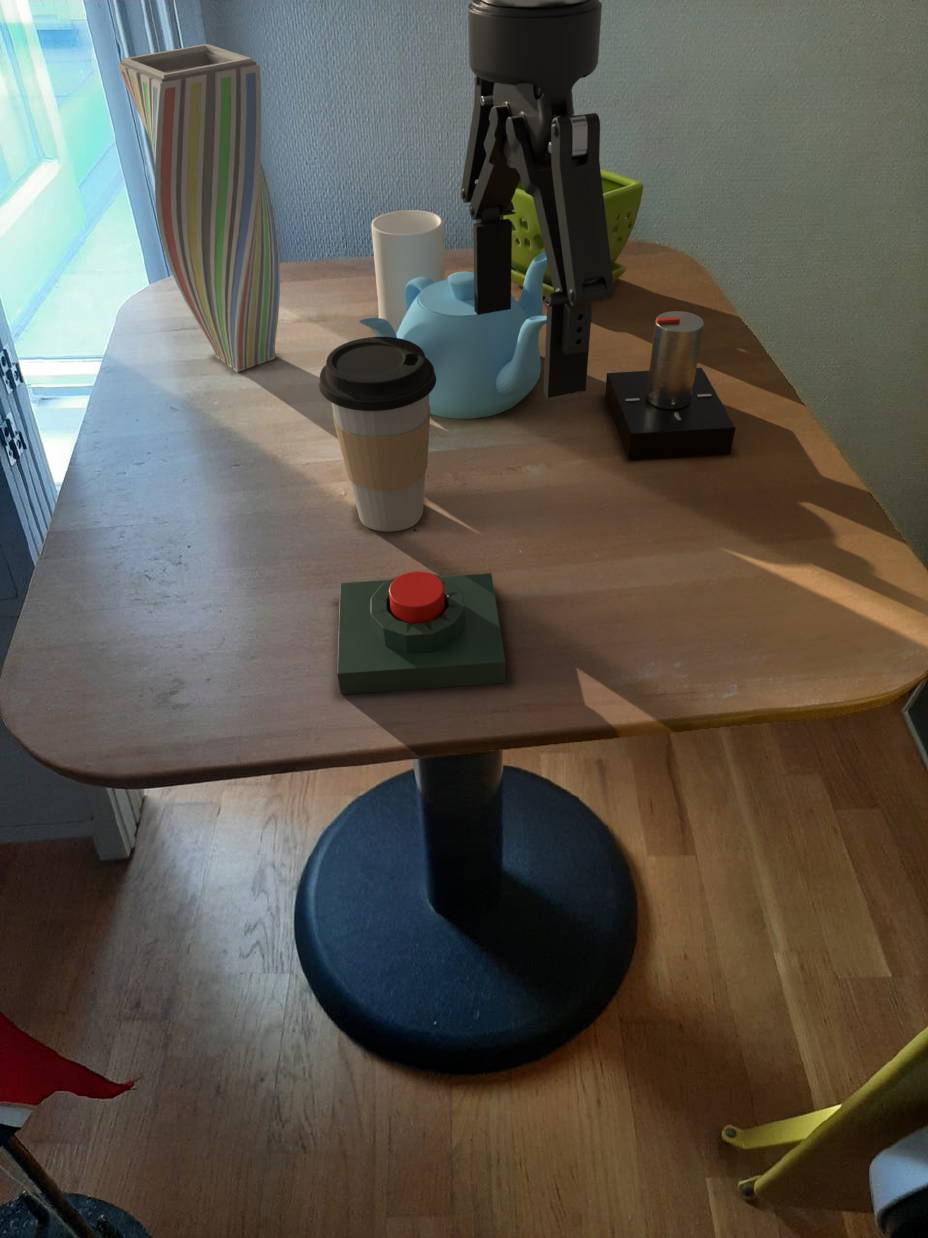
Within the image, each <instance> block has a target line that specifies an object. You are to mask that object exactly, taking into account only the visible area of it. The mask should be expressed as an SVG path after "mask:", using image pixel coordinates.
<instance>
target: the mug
mask: <svg viewBox="0 0 928 1238" xmlns="http://www.w3.org/2000/svg"><path fill="white" fill-rule="evenodd" d="M371 236H372V248H373V249H372V250H373V260H374V271H375V282H376V293H377V294H376V295H377V305H378V318H382V319H385V320H386V321H388V322H389V323H390V324H391V326H392V327H393V329H394V331H395V333H396V334H397V332H398V329H399V327H400V325H401V323H402V321H403V319H404V317H405V315H406V313H407V308H406V302H405V288H406V285H407V284H408V282H409V281H411V280H412V279H415V278H417V277H427V278H429V279H431V280H432V281H433V282H434V283H436V282H439V281H442V280H446V269H445V268H446V267H445V244H444V243H445V241H444V221H443V218H442V217H441V216H440V215H439V214H436V213H434V212H430V211H428V210H427V211H426V210H419V209H403V210H395V211H390V212H387V213H383V214H381V215H378V216H376V217H375V218H374V219H373V220H372V221H371Z"/></svg>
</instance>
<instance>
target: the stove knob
mask: <svg viewBox="0 0 928 1238" xmlns="http://www.w3.org/2000/svg"><path fill="white" fill-rule="evenodd" d="M704 323H705V322H704V320H703V318H701V317H700V316H699V315H697V314H695V313H692V312H688V311H682V310H681V311H680V310H674V311H673V310H672V311H665V312H663V313H660V314H659V315H657V316H656V318H655V322H654V329H653V337H652V346H651V353H650V359H649V370H648V371H649V376H648V384H647V392H646V399H647V401H648V402H649V403H650V404H652V405H654V406H656V407H659V408H663V409H680V408H683V407H685V406H687V405H688V404H689V403H690V402H691V398H692V392H693V386H694V380H695V373H696V368H698V367H697V366H698V361H699V355H700V349H701V341H702V336H703V329H704Z"/></svg>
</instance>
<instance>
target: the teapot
mask: <svg viewBox="0 0 928 1238" xmlns="http://www.w3.org/2000/svg"><path fill="white" fill-rule="evenodd" d="M547 265H548V262H547V258H546V253H545V251H543V252H542V253H540V254H539V255H538V256H537V257H535V258H534V260H533V261H532V262H531V264H530V266H529V268H528V270H527V273H526V276H525V280H524V285H523V287H522V289H521V293H520V296H519V299H518V300H517V299H516V298H515V297H514V296H513V294H512V293H511V309H509V310H503V311H497V312H491V313H486V314H480V315H477V313H476V312H475V311H474V272H471V271H457V272H454V273H451V274H449V275H448V277H447V279H446V278H445V280H442V281H439V282H436V283H434V282H433V281H432V280H431V279H429V278H427V277H417V278H415V279H412V280H411V281H409V282H408V284H407V285H406V288H405V302H406V308H407V313H406V315H405V317H404V319H403V321H402V323H401V325H400V327H399V329H398V332H397V334H396V333H395V331H394V329H393V327H392V326H391V324H390V323H389V322H388V321H386V320H385V319H382V318H379V317H368V318H363V319H360V320H359V323H360V324H362V325H364V326H366V327H368V328H370V329H371V330H372V331H373V332H374V334H375V337H394V338H400V339H404V340H407V341H410V342H412V343H414V344H416V345H418V346H419V347H420V348H421V349H422V350H423V352H424V354H425V357H426V358H427V359H428V360H429V361H430V362H431V363H432V365H433V367H434V373H435V375H436V384H435V387H434V388H433V390H432V391H431V392H430V393H429V406H430V415H434V416H437V417H441V418H447V419H454V420H455V419H456V420H470V419H471V420H472V419H481V418H486V417H492V416H495V415H498V414H501V413H504V412H506V411H508V410H510V409H512V408H513V407H515V406H517V404H519V403H520V402H521V401H522V400H523V399H525V397H527V395H528V394H530V392H532V390H533V389H534V388H535V386H536V385H537V383H538V381H539V379H540V376H541V371H542V365H541V364H542V363H541V361H542V360H541V353H540V347H539V338H540V337H539V336H540V331H541V329H542V328H543V326H544V325H545V324H546V321H547V315H544V299H543V298H544V296H543V292H542V287H543V277H544V272H545V270H546V267H547Z"/></svg>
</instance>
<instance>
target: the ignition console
mask: <svg viewBox="0 0 928 1238" xmlns="http://www.w3.org/2000/svg"><path fill="white" fill-rule="evenodd" d="M426 573H428V572H426ZM429 573H430V574H432V575H435V576H436V577H437V578H439V579H440V580H441V582H442V584H443V587H444V603H445V606H444V610H443V612H442V613H441V615H440V616H439V617H438V618H436V619H435V620H432V621H430V622H428V623H418V624H408V623H405V622H402V621H400V620H398V619H397V618H396V617H395V616H394V615H393V613H392V612H391V607H390V597H389V588H390V585H391V583H392V582H393V581H394V580H395V579H396V578H397V577H399V576H401V575H403V574H404V573H402V574H400V575H398V576H395V577H393V578H391V579H383V580H382V579H380V580H367V581H352V582H340V583H339V606H338V607H339V608H338V637H337V639H338V640H337V671H336V672H337V673H336V675H337V680H338V681H337V682H338V687H339V692H340V693H339V694H340V695H341V696H342V695H353V694H355V695H356V694H370V693H381V692H395V691H409V690H410V691H411V690H425V689H439V688H452V687H453V688H454V687H464V686H481V685H493V684H494V685H495V684H505V683H506V657H505V650H504V645H503V638H502V631H501V625H500V619H499V612H498V606H497V601H496V594H495V588H494V580H493V575H492V574H493V573H491V572H487V573H473V574H456V575H438V574H435V573H431V572H429Z"/></svg>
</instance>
